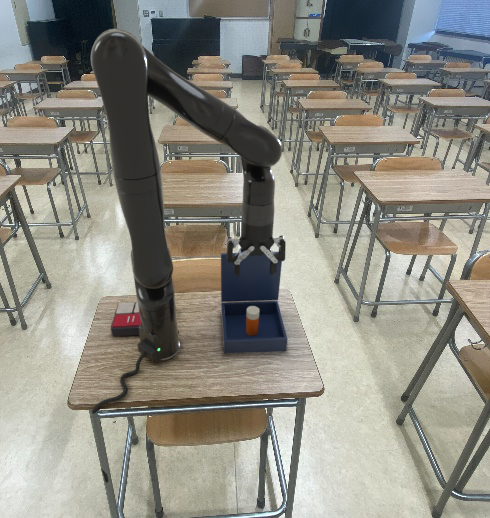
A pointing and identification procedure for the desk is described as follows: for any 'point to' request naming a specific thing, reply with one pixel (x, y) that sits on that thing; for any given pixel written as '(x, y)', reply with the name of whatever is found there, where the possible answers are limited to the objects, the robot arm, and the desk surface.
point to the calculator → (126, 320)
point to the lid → (249, 279)
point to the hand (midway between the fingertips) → (254, 273)
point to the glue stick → (252, 320)
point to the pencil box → (269, 328)
